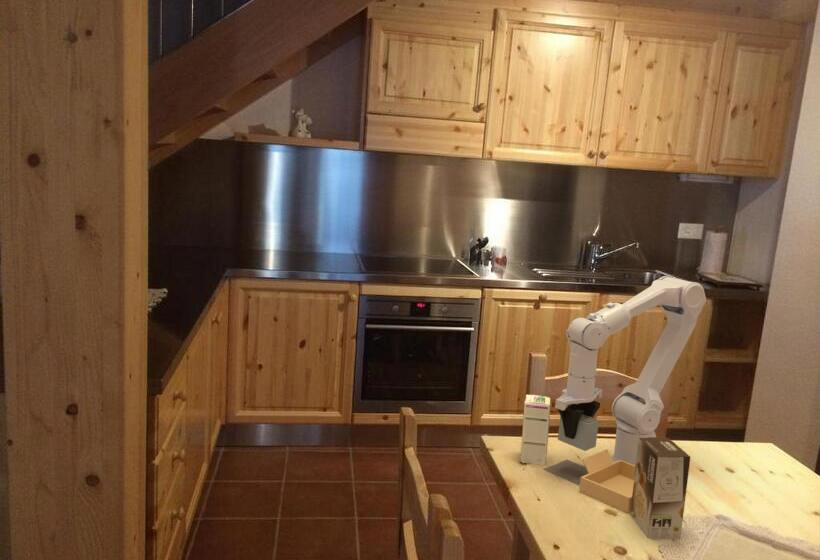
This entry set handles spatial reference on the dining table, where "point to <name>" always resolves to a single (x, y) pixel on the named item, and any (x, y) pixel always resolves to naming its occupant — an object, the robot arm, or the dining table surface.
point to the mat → (568, 471)
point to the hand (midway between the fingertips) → (575, 435)
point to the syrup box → (535, 429)
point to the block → (581, 433)
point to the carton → (608, 481)
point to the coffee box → (659, 487)
